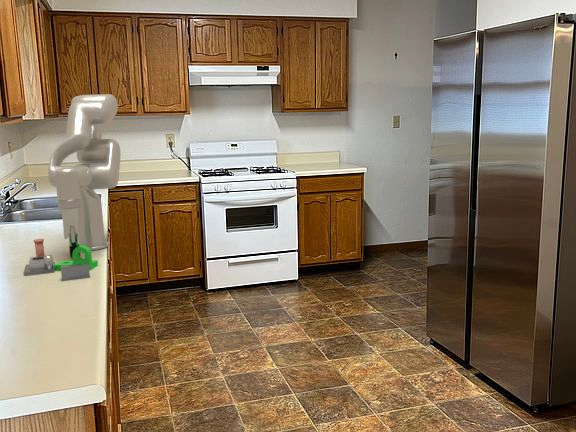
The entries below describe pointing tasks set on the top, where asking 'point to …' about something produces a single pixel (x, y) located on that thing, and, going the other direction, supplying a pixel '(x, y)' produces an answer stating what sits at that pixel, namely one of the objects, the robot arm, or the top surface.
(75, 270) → the block
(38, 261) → the metal square socket base
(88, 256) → the mechanical part
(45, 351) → the top surface
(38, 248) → the peach peg
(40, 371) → the top surface
